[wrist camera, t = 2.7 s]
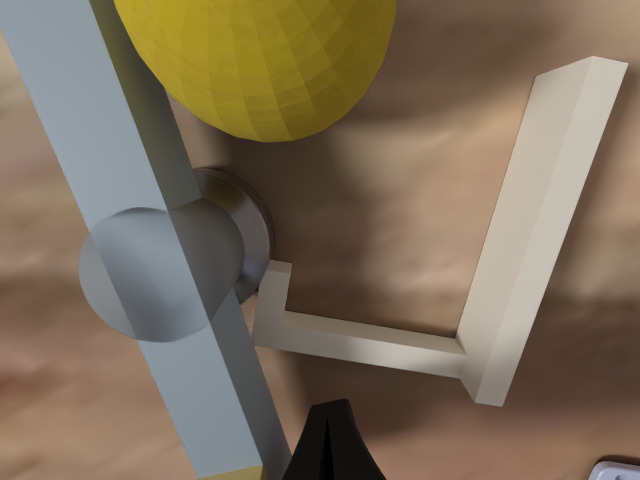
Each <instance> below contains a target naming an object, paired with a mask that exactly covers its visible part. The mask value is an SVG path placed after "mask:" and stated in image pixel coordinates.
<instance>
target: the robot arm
mask: <svg viewBox="0 0 640 480" xmlns="http://www.w3.org/2000/svg"><path fill="white" fill-rule="evenodd" d="M281 480H386V478H385V477H384V475H383V474H382V472H381V471H380V469H379V468H378V466H377V464H376V463H375V461H374V459H373V458H372V456H371V454H370V453H369V451H368V449H367V447H366V445H365V444H364V442H363V440H362V438H361V436H360V434H359V432H358V429H357V427H356V425H355V421H354V418H353V414H352V410H351V407H350V403H349V400H347V399H345V398H344V399H340V400H335V401H331V402H326V403H322V404H317V405H313V406H312V407H311V408H310V411H309V414H308V417H307V420H306V423H305V426H304V429H303V431H302V434H301V437H300V439H299V442H298V444H297V446H296V449H295V451H294V454H293V456H292V458H291V460H290V462H289V465H288V467H287V469H286V471H285V473H284V475H283V477H282V479H281ZM588 480H640V466H636V465H629V464H623V463H616V462H609V461H602V462H599V463H598V464H596V465H595V467H594V468H593V470H592V472H591V474H590V476H589V479H588Z"/></svg>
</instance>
